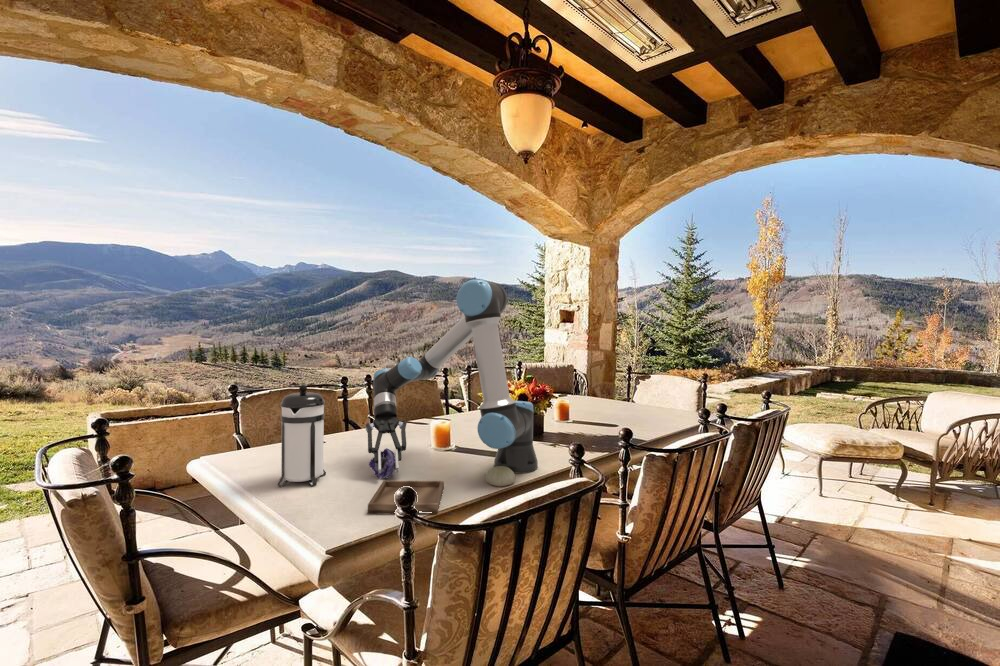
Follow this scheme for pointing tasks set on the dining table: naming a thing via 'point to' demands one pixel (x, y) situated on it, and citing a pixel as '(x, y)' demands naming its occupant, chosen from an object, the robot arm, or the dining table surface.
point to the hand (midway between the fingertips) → (388, 470)
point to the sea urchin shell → (500, 476)
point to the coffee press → (302, 437)
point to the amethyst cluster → (384, 464)
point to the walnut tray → (425, 490)
